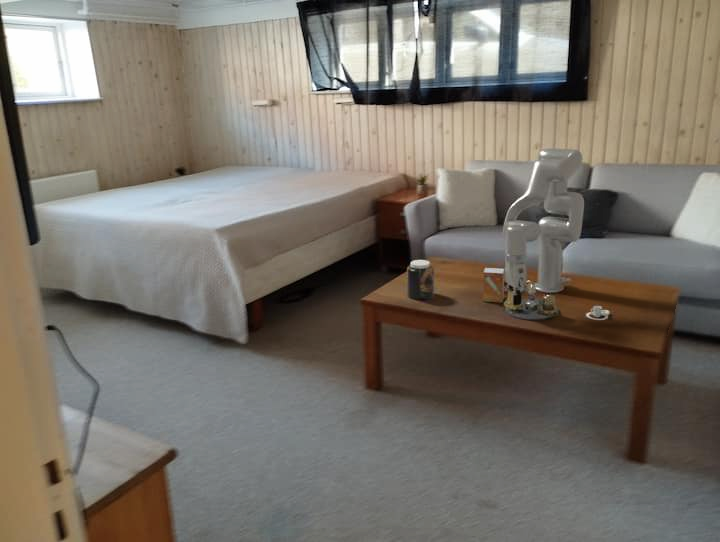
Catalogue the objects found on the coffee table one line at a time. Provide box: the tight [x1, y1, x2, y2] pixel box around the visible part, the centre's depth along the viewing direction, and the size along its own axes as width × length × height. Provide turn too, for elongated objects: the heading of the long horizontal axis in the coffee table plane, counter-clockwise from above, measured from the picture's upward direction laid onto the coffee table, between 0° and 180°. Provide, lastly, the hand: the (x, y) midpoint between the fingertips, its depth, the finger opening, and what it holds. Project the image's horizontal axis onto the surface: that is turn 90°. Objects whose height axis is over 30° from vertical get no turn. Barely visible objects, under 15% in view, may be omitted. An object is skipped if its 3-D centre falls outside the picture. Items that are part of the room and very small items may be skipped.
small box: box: [482, 267, 505, 304], centre depth 249 cm, size 8×6×13 cm
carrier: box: [504, 283, 560, 321], centre depth 237 cm, size 20×20×8 cm
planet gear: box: [503, 288, 524, 310], centre depth 235 cm, size 8×7×6 cm
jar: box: [406, 259, 435, 301], centre depth 258 cm, size 12×12×15 cm
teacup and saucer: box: [585, 305, 611, 321], centre depth 229 cm, size 9×8×4 cm
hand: (514, 301), depth 235 cm, fingers closed on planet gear, 4 cm apart
